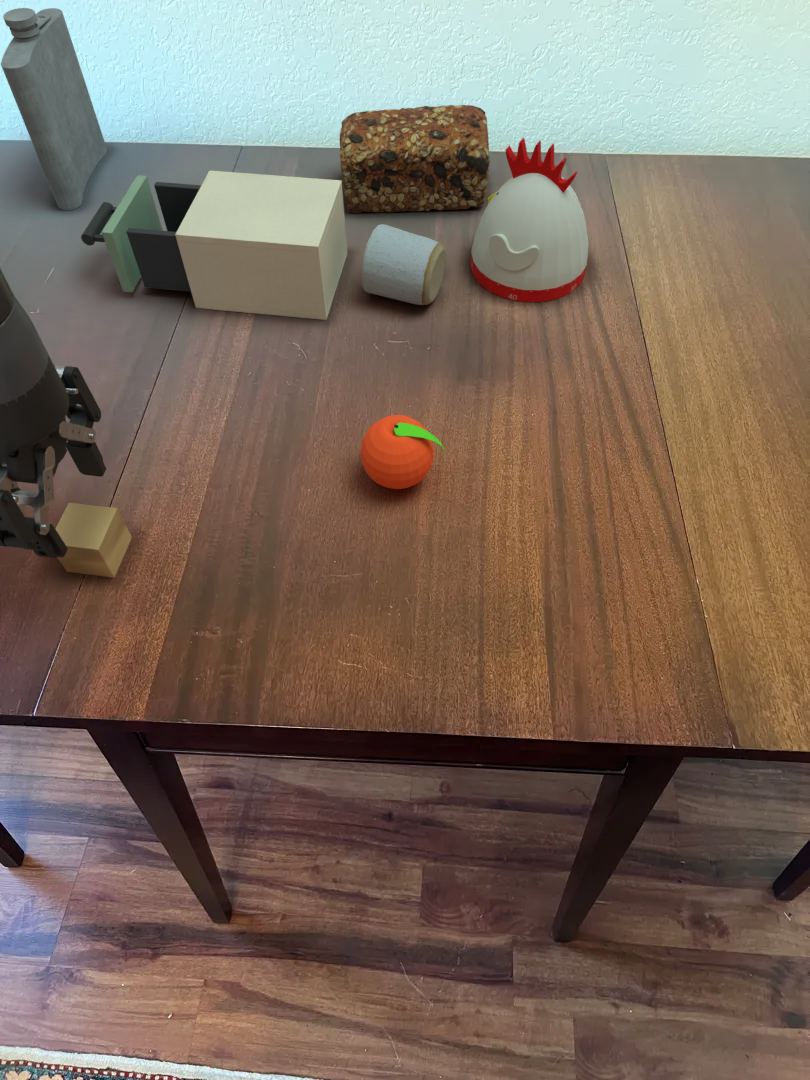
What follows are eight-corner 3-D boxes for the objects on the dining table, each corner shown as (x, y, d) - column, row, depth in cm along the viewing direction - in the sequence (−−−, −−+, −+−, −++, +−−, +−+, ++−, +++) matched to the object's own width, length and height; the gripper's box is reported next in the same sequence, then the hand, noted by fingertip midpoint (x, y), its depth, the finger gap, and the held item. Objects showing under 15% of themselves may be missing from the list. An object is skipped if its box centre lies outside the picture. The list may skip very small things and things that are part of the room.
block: (67, 572, 70) (47, 543, 66) (86, 531, 73) (68, 502, 69) (114, 578, 70) (98, 549, 66) (132, 537, 72) (117, 507, 68)
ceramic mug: (427, 320, 89) (429, 262, 83) (361, 305, 91) (357, 246, 85) (456, 268, 95) (459, 209, 89) (393, 254, 97) (392, 195, 90)
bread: (481, 169, 107) (486, 93, 99) (486, 214, 101) (493, 138, 93) (345, 171, 107) (339, 96, 99) (343, 217, 101) (336, 140, 93)
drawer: (87, 288, 92) (63, 228, 85) (122, 231, 98) (101, 172, 92) (243, 302, 90) (230, 243, 84) (267, 243, 96) (257, 184, 90)
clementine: (448, 455, 78) (451, 403, 72) (438, 509, 74) (440, 460, 68) (370, 445, 78) (366, 394, 73) (355, 499, 74) (350, 449, 69)
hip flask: (78, 210, 102) (15, 44, 86) (48, 210, 103) (-22, 43, 86) (109, 146, 111) (57, -16, 95) (82, 146, 112) (25, -16, 95)
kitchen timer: (499, 220, 100) (511, 100, 88) (601, 250, 96) (628, 128, 84) (451, 281, 93) (457, 159, 81) (559, 315, 89) (583, 193, 77)
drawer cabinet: (195, 308, 91) (174, 234, 83) (225, 243, 98) (209, 170, 90) (326, 320, 89) (318, 246, 82) (347, 254, 97) (341, 180, 89)
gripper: (-15, 294, 57) (66, 444, 70) (-119, 437, 49) (-5, 577, 62) (82, 303, 56) (146, 453, 69) (-6, 450, 48) (85, 588, 61)
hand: (75, 511), depth 66 cm, fingers open, 8 cm apart
